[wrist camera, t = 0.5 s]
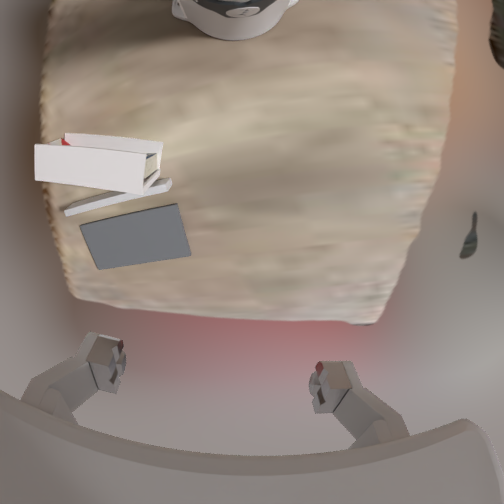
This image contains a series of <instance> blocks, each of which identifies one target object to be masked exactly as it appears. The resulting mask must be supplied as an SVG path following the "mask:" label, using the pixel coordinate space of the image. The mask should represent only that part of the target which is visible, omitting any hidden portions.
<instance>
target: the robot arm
mask: <svg viewBox="0 0 504 504" xmlns="http://www.w3.org/2000/svg"><path fill="white" fill-rule="evenodd" d="M298 1H299V0H173V3H172V14H173V16H174V17H176V18H178V19H181V20H185V21H189V22H191V23H192V24H194V25H195V26H196V27H197V28H198V29H200V30H201V31H202V32H204V33H206V34H208V35H210V36H212V37H215V38H219V39H224V40H245V39H250V38H253V37H256V36H259V35H261V34H263V33H265V32H267V31H268V30H270V29H271V28H272V27H273V26H275V25H276V24H277V22H278V21H279V20H280V18H281V17H282V15H283V13H284V12H285V11H286V10H287V9H288V8H290V7H292V6H293V5H295V4H296V3H297V2H298ZM178 5H180V6H178ZM123 347H124V344H123V340H121V339H118V338H113V337H109V336H106V335H102V334H97V333H94V332H89V333H87V335H86V337H85V338H84V340H83V342H82V344H81V346H80V347H79V349H78V351H77V353H76V355H75V357H74V358H73V357H70V358H68V359H67V360H65V361H63V362H61V363H59V364H57V365H56V366H54V367H52V368H50V369H48V370H47V371H45V372H43V373H41V374H40V375H38V376H36V377H34V378H32V379H31V381H30V383H29V385H28V387H27V389H26V390H25V392H24V394H23V396H22V398H21V400H19V399H16V398H15V397H13V396H11V395H9V394H7V393H5V392H4V391H2V390H0V504H504V474H503V471H502V468H501V465H500V463H499V460H498V457H497V454H496V452H495V449H494V447H493V444H492V442H491V440H490V438H489V436H488V434H487V433H486V432H485V431H484V430H483V429H482V428H481V427H479V426H478V425H476V424H475V423H473V422H472V421H470V420H468V419H460V420H457V421H454V422H452V423H449V424H446V425H443V426H441V427H438V428H435V429H432V430H429V431H426V432H422V433H419V434H416V435H413V436H410V435H409V432H408V430H407V427H406V425H405V423H404V420H403V418H402V416H401V415H400V414H399V413H397V412H396V411H395V410H394V409H392V408H391V407H390V406H388V405H387V404H386V403H384V402H383V401H382V400H381V399H380V398H378V397H377V396H376V395H374V394H373V393H372V392H371V391H369V390H368V389H367V388H363V386H362V384H361V382H360V379H359V377H358V374H357V372H356V369H355V367H354V365H353V363H352V362H351V361H319V362H318V363H317V365H316V367H315V368H316V371H315V372H314V373H312V375H311V377H310V381H309V390H310V394H311V395H312V396H313V397H314V399H313V401H312V403H313V407H314V411H315V413H333V415H334V416H335V417H336V418H337V419H338V420H339V421H340V423H341V424H342V425H343V426H344V427H345V428H346V429H347V430H348V431H349V432H350V433H351V434H352V435H353V437H354V438H355V439H356V441H355V442H354V443H353V444H352V445H351V446H350V447H349V449H347V450H340V451H333V452H324V453H316V454H315V453H314V454H302V455H283V456H241V455H223V454H210V453H200V452H192V451H184V450H177V449H171V448H165V447H159V446H154V445H149V444H144V443H140V442H135V441H131V440H127V439H123V438H119V437H115V436H112V435H108V434H104V433H101V432H98V431H95V430H92V429H88V428H86V427H83V426H80V425H78V423H77V421H76V419H75V418H74V416H73V414H72V412H73V411H74V410H75V409H77V408H78V407H79V406H80V405H81V404H83V403H84V402H85V401H86V400H88V399H89V398H90V397H91V396H92V395H94V394H95V393H96V392H97V391H98V390H102V391H106V392H110V393H115V394H116V393H117V391H118V388H119V385H120V378H119V377H120V376H121V375H123V373H124V370H125V366H126V355H125V352H124V351H123V350H122V349H123Z"/></svg>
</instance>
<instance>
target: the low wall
mask: <svg viewBox="0 0 504 504" xmlns="http://www.w3.org/2000/svg"><path fill="white" fill-rule="evenodd" d="M171 185H172V181H171V177H170V178H166V179H161V180H157V181H154V182H153V184H152V185H151V186H150V187H149V188H148V189H147V191H146V192H145V193H144V194H143V195H138V194H132V193H126V192H119V191H112V192H109V193H105V194H102V195H98V196H95V197H91V198H88V199H84V200H81V201H78V202H75V203H72V204H71V205H70V206H69V207H68V208H67V209H65V210H64V212H65V215H66V217H67V216H71V215H74V214H78V213H81V212H85V211H88V210H92V209H96V208H100V207H103V206H107V205H111V204H115V203H119V202H123V201H127V200H131V199H136V198H140V197H144V196H149V195H153V194H158V193H162V192H167V191H168V190H169V188H170V187H171Z"/></svg>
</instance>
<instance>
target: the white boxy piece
mask: <svg viewBox="0 0 504 504" xmlns="http://www.w3.org/2000/svg"><path fill="white" fill-rule="evenodd" d="M162 148H163V142H159V141H152V140H144V139H136V138H127V137H117V136H106V135H94V134H78V133H65V140H64V139H62V138H60V139H58V140H55V141H52V142H50V143H47V144H35V180H39V181H47V182H55V183H63V184H70V185H78V186H85V187H92V188H99V189H106V190H113V191H119V192H126V193H132V194H138V195H143V194H144V193H145V192H146V191H147V189H148V188H149V187H150V186H151V185H152V184H153V182H154V181H155V180H156V179H157V178H158V177H159V176H160V170H161V169H159V168H160V161H161V154H162Z"/></svg>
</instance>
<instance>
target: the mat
mask: <svg viewBox="0 0 504 504" xmlns="http://www.w3.org/2000/svg"><path fill="white" fill-rule="evenodd" d="M80 228H81V230H82V233H83V235H84V238H85V240H86V242H87V245H88V247H89V249H90V252H91V254H92V256H93V258H94V261H95V263H96V265H97V267H98V269H99V270H102V269H109V268H115V267H121V266H128V265H134V264H141V263H147V262H154V261H161V260H167V259H174V258H180V257H187V256H191V251H190V248H189V245H188V241H187V238H186V234H185V230H184V227H183V223H182V220H181V216H180V212H179V208H178V205H177V203H176V204H171V205H166V206H161V207H156V208H151V209H147V210H142V211H137V212H133V213H128V214H124V215H120V216H115V217H111V218H107V219H103V220H98V221H94V222H90V223H86V224H83V225H81V226H80Z"/></svg>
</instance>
